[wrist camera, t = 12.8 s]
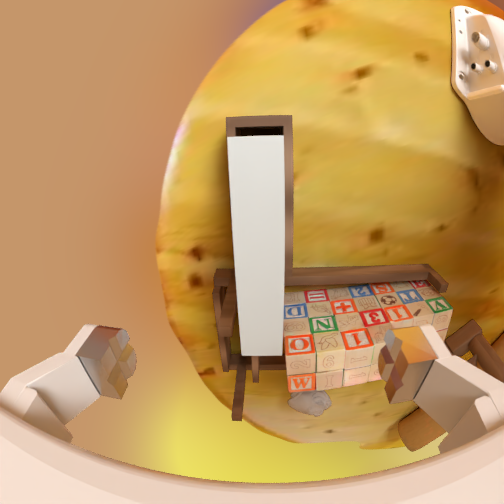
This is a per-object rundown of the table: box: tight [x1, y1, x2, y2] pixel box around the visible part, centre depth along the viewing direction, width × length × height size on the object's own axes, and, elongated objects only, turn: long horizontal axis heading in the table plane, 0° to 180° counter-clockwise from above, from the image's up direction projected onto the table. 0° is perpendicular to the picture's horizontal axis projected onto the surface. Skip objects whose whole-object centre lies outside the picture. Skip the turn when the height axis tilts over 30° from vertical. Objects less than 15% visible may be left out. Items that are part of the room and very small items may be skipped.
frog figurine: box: [288, 390, 331, 416], centre depth 41 cm, size 6×7×7 cm
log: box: [398, 333, 504, 451], centre depth 40 cm, size 38×10×10 cm, turn 141°
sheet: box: [227, 135, 285, 356], centre depth 23 cm, size 12×2×20 cm, turn 2°
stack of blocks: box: [283, 280, 453, 393], centre depth 32 cm, size 21×6×12 cm, turn 98°
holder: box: [226, 115, 293, 278], centre depth 29 cm, size 16×6×6 cm, turn 2°
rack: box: [212, 264, 448, 421], centre depth 33 cm, size 16×30×12 cm, turn 92°
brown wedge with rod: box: [444, 319, 504, 383], centre depth 32 cm, size 4×11×18 cm, turn 126°
